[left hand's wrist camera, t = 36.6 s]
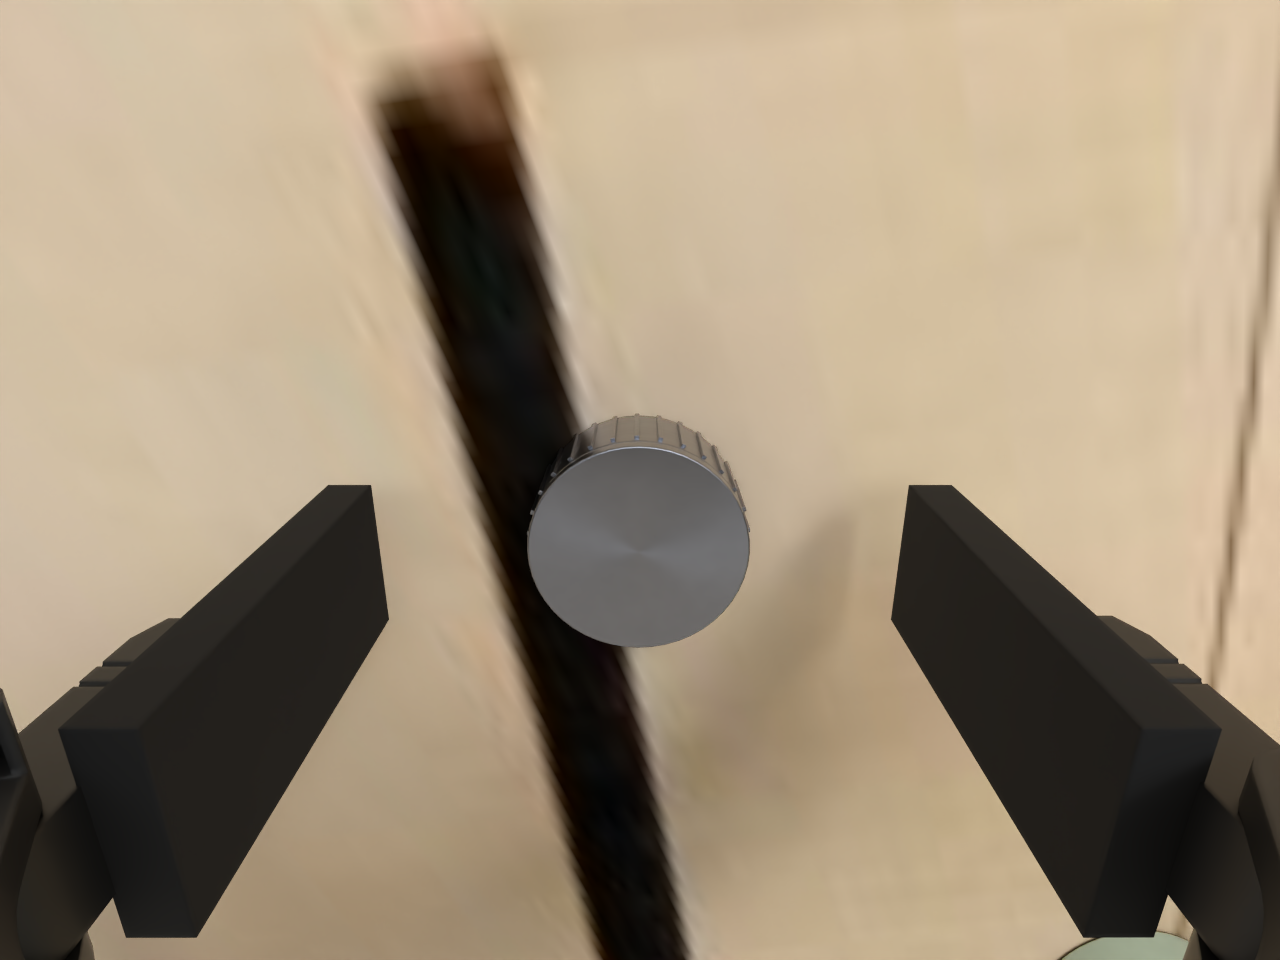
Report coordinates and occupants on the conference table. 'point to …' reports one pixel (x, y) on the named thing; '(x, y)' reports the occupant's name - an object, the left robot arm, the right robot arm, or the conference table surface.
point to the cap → (638, 533)
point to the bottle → (1132, 948)
